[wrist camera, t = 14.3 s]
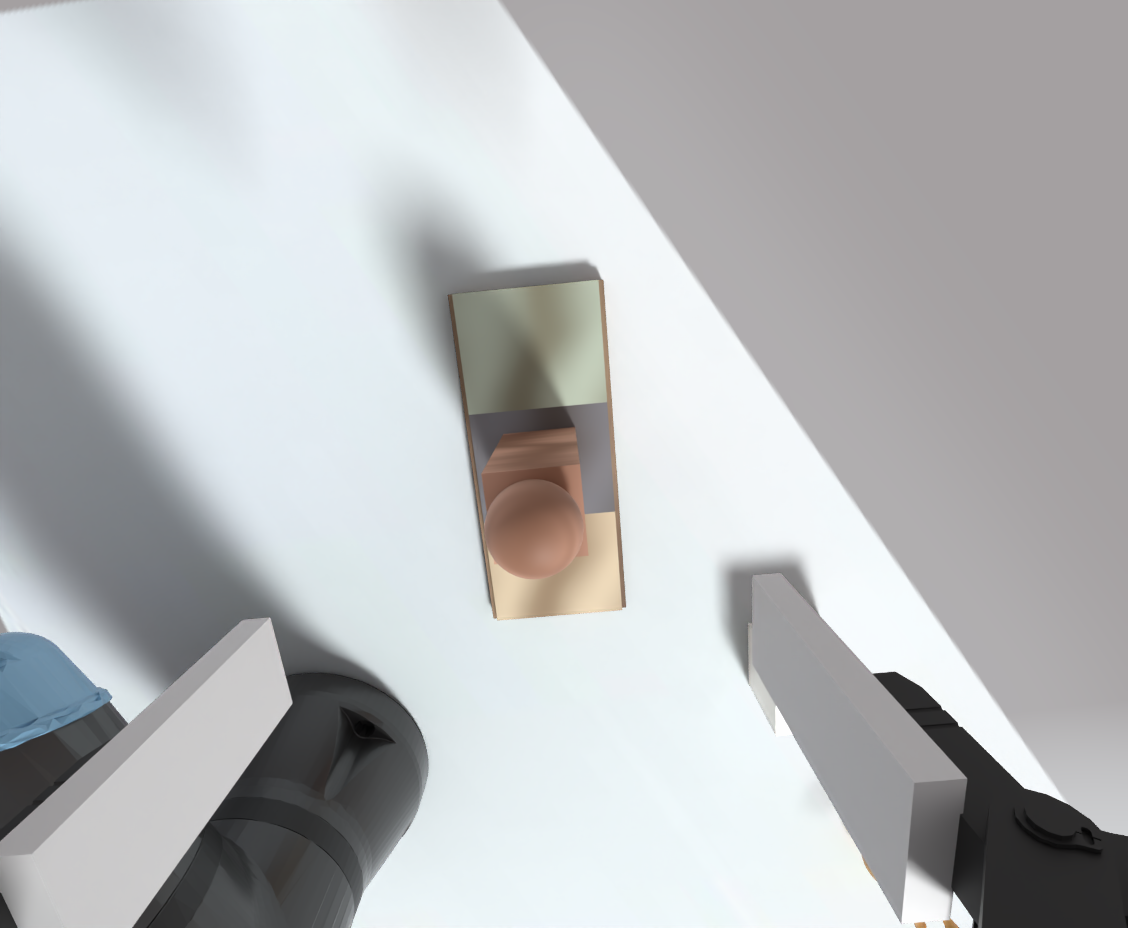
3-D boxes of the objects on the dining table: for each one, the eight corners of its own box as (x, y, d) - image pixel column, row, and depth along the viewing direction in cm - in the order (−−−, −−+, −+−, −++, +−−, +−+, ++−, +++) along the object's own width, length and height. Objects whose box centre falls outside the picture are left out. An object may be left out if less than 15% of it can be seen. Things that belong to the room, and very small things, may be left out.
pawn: (512, 502, 33) (482, 605, 21) (503, 434, 32) (466, 500, 20) (581, 495, 33) (593, 595, 21) (575, 426, 32) (583, 489, 19)
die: (748, 683, 38) (776, 736, 33) (747, 622, 37) (776, 668, 32) (817, 677, 38) (856, 729, 33) (819, 615, 36) (859, 660, 32)
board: (495, 612, 36) (492, 620, 35) (450, 295, 31) (446, 294, 30) (624, 601, 36) (626, 609, 35) (602, 280, 31) (603, 279, 30)
